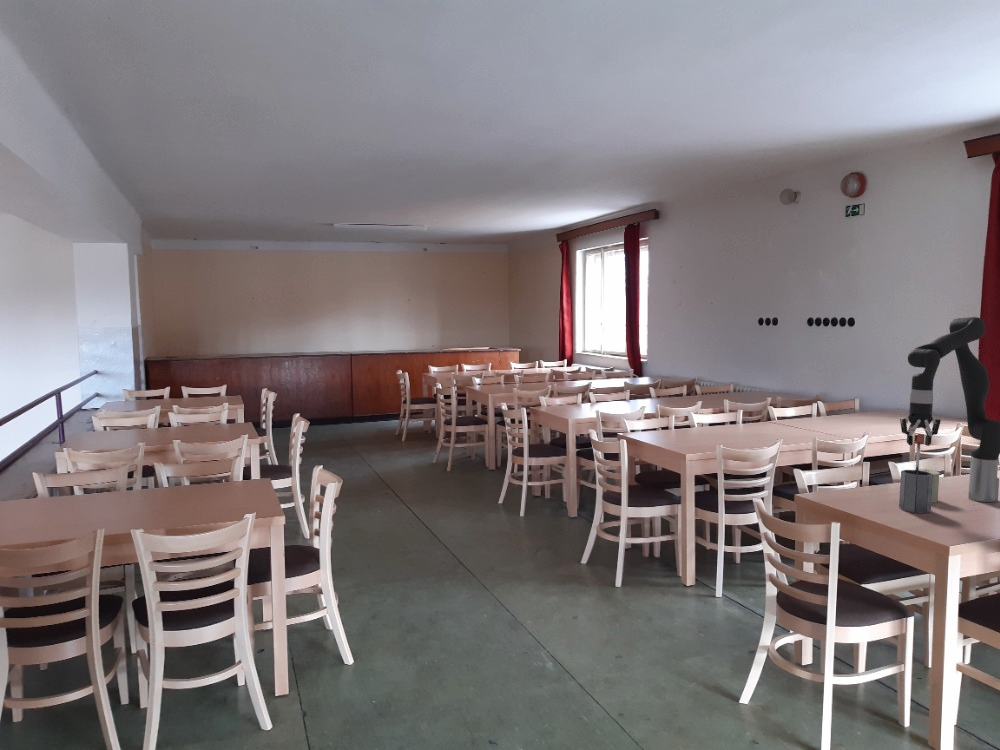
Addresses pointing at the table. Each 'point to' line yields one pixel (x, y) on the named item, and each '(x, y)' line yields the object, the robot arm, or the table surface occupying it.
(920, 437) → the plunger
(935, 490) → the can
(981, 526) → the table surface
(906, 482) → the grey faceted pot
